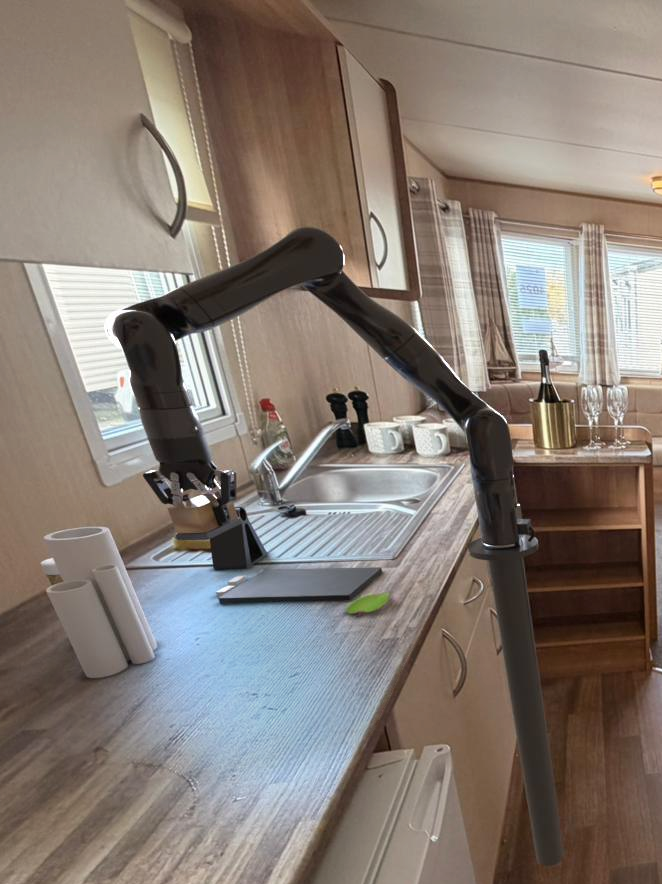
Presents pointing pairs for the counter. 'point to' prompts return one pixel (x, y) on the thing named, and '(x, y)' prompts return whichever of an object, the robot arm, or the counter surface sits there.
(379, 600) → the decorative leaf
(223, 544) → the phone stand
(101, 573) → the vase
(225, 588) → the small white block
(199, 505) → the eraser
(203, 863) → the counter surface
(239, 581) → the small white block
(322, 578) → the memo board
